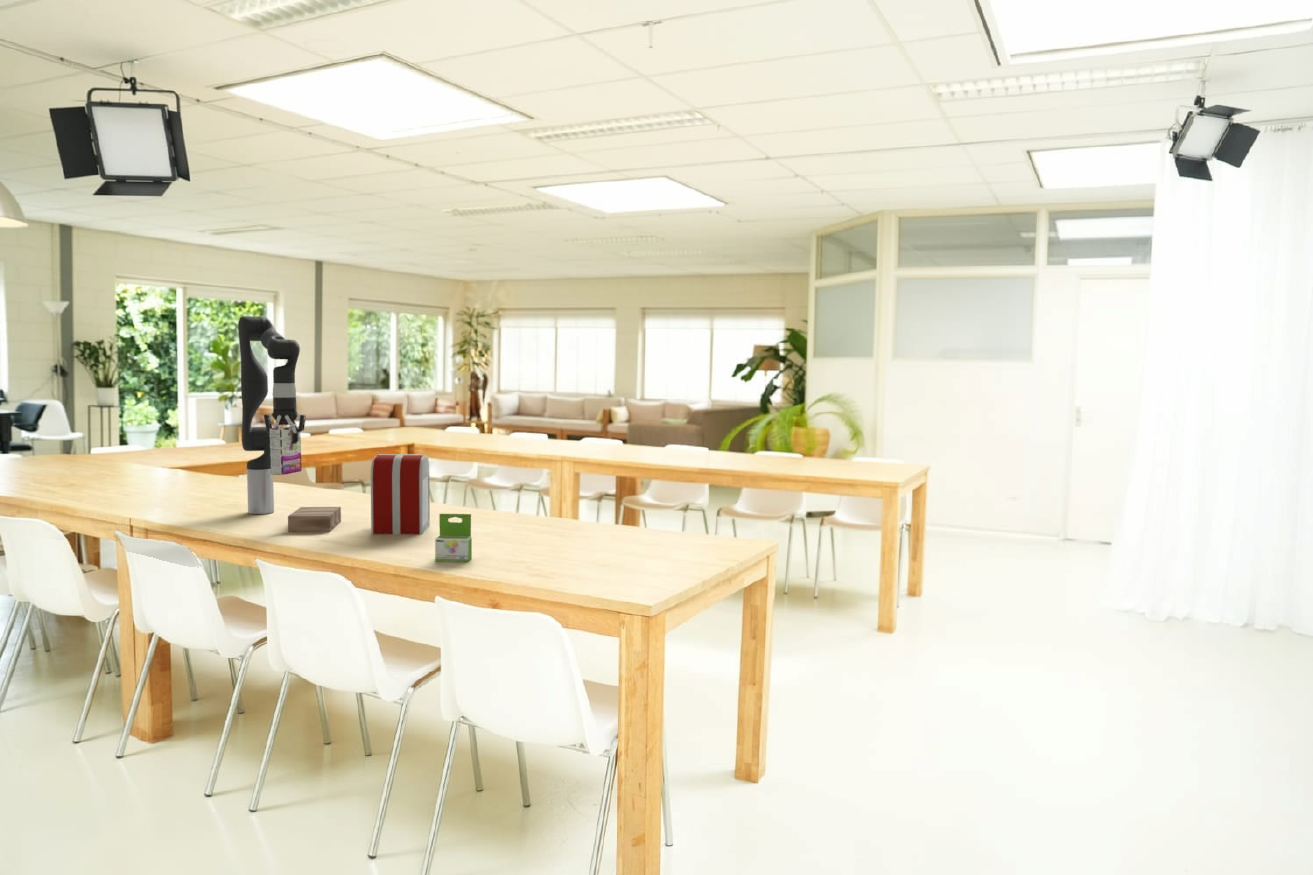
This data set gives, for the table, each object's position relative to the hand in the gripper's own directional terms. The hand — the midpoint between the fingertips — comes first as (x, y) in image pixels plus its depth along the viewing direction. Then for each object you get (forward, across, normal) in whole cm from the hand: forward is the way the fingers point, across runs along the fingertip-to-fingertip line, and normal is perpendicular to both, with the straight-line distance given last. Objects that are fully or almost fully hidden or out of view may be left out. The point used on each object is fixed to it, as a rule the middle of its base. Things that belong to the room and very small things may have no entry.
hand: (285, 443), depth 308 cm
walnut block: (+30, -10, 0) cm, 32 cm away
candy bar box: (+11, 0, 0) cm, 11 cm away
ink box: (+31, -66, +49) cm, 88 cm away
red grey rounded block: (+31, -41, +4) cm, 51 cm away
